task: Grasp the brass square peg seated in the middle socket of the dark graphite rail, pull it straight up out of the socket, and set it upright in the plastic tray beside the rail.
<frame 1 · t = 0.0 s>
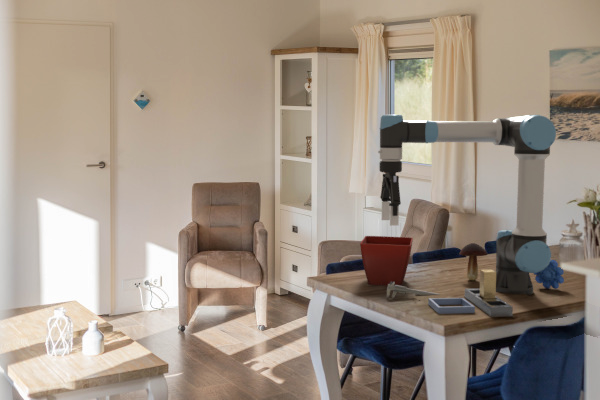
hand: (389, 222, 240), 28 cm above the table, fingers open, 13 cm apart
caliper: (414, 298, 252), on the table
decorative mushroom: (472, 280, 280), on the table
plant pot: (386, 283, 276), on the table
brass peg: (487, 306, 235), point 1 cm above the table, touching socket rail
grapes: (546, 289, 265), on the table
socket rail: (487, 309, 235), on the table
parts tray: (450, 311, 232), on the table
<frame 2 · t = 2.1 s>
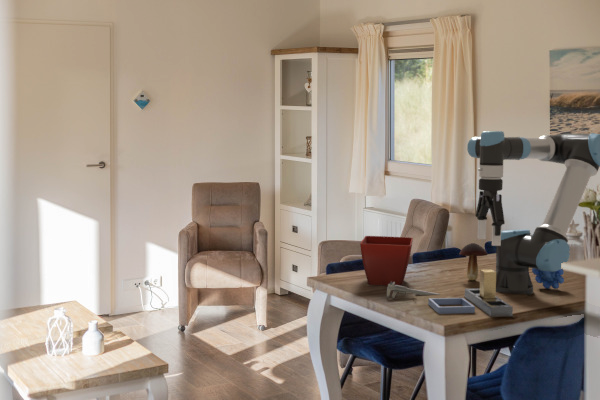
hand: (488, 242, 233), 23 cm above the table, fingers open, 13 cm apart
nothing on the table moved.
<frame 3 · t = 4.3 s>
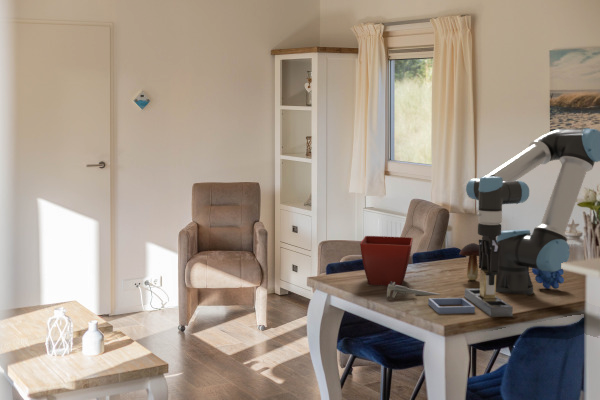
hand: (487, 292, 235), 6 cm above the table, fingers closed on brass peg, 4 cm apart
brass peg: (487, 306, 235), point 1 cm above the table, touching gripper, socket rail
everything else where it was.
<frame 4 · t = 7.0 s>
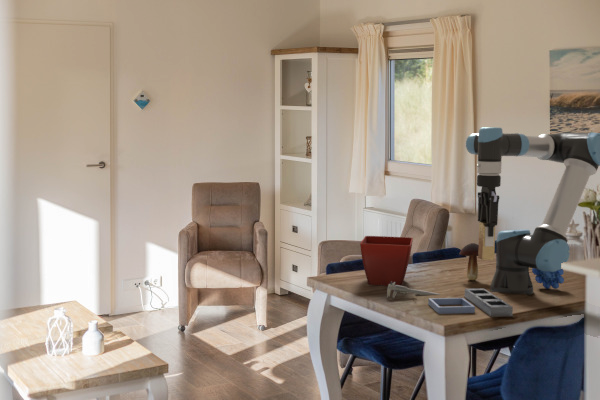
hand: (486, 244, 233), 22 cm above the table, fingers closed on brass peg, 4 cm apart
brass peg: (486, 258, 233), point 17 cm above the table, touching gripper
everything else where it was.
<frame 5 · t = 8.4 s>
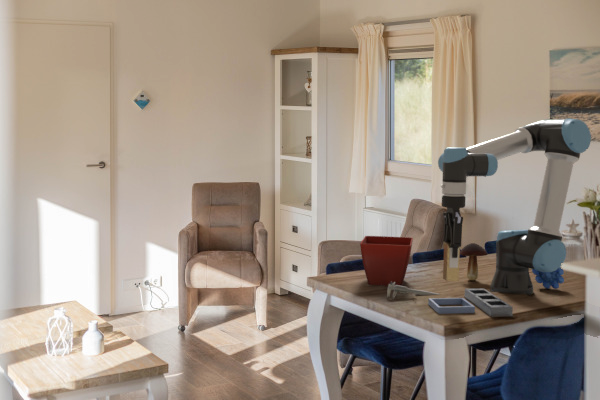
hand: (451, 265, 231), 15 cm above the table, fingers closed on brass peg, 4 cm apart
brass peg: (450, 279, 231), point 11 cm above the table, touching gripper
everything else where it was.
when the fingers open (6 cm above the table, at t = 9.7 s): brass peg drops 1 cm, resting on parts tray.
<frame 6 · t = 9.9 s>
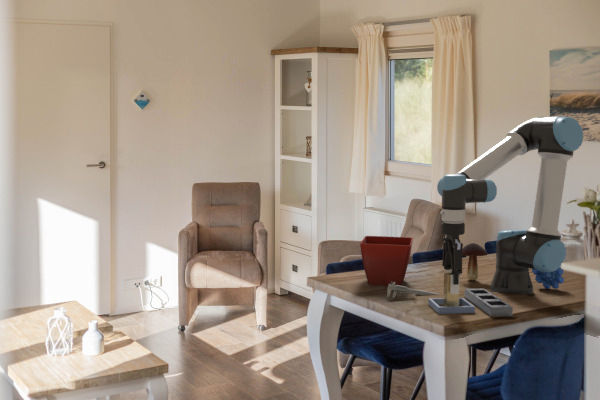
hand: (451, 291, 232), 7 cm above the table, fingers open, 6 cm apart
brass peg: (450, 309, 232), point 1 cm above the table, touching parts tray
everything else where it was.
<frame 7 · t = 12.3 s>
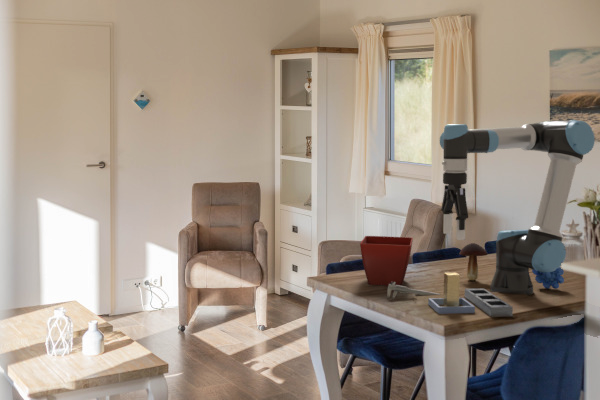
hand: (453, 236, 231), 25 cm above the table, fingers open, 13 cm apart
nothing on the table moved.
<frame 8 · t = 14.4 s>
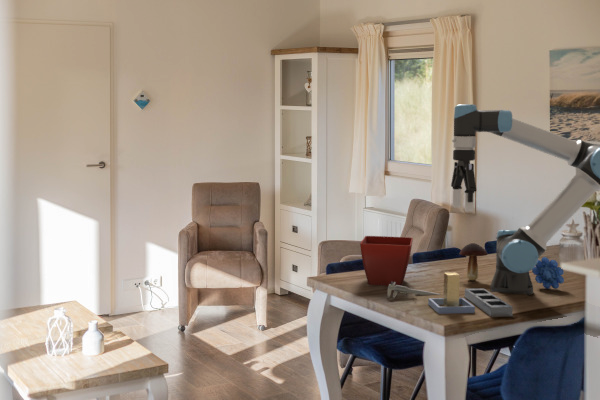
hand: (462, 209, 248), 32 cm above the table, fingers open, 13 cm apart
nothing on the table moved.
at the end: brass peg inside the target area on the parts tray (0.0 cm from its centre), point 0.6 cm above the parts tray's base; brass peg tilted 0°; the gripper is holding nothing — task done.
